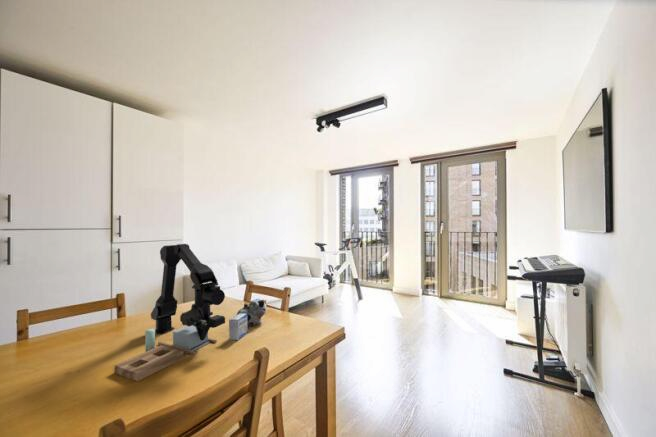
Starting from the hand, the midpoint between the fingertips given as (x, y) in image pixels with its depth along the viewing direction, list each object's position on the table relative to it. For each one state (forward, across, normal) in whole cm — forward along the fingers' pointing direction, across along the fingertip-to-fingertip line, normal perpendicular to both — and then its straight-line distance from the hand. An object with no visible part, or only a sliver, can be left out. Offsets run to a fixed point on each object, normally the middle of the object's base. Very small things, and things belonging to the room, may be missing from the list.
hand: (202, 340), depth 108 cm
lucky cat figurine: (+3, 0, +29) cm, 30 cm away
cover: (+3, -6, 0) cm, 7 cm away
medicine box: (+3, +6, +14) cm, 15 cm away
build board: (+3, -5, -17) cm, 18 cm away
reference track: (+3, -8, 0) cm, 9 cm away
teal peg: (+3, -13, -12) cm, 18 cm away
